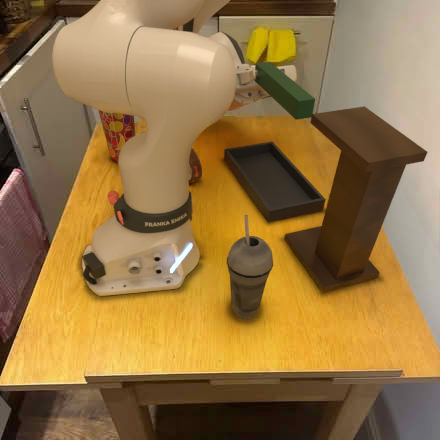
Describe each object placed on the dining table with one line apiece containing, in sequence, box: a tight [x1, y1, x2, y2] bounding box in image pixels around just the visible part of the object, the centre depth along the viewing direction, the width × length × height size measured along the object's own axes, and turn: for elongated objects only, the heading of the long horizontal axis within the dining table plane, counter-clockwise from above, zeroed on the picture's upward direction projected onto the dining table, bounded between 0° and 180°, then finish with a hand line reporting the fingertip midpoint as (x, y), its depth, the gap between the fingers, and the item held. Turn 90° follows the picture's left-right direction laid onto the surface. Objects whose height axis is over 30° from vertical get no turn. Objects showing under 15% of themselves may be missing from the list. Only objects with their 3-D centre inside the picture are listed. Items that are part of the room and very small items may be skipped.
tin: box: [189, 147, 203, 184], centre depth 98 cm, size 15×3×8 cm, turn 34°
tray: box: [223, 141, 327, 223], centre depth 98 cm, size 14×28×3 cm, turn 20°
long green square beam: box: [254, 61, 316, 120], centre depth 82 cm, size 4×20×4 cm, turn 20°
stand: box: [284, 106, 429, 293], centre depth 72 cm, size 12×16×26 cm
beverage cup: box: [226, 214, 274, 320], centre depth 64 cm, size 7×7×20 cm
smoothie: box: [97, 109, 136, 163], centre depth 98 cm, size 8×8×20 cm
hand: (266, 72), depth 87 cm, fingers closed on long green square beam, 3 cm apart
